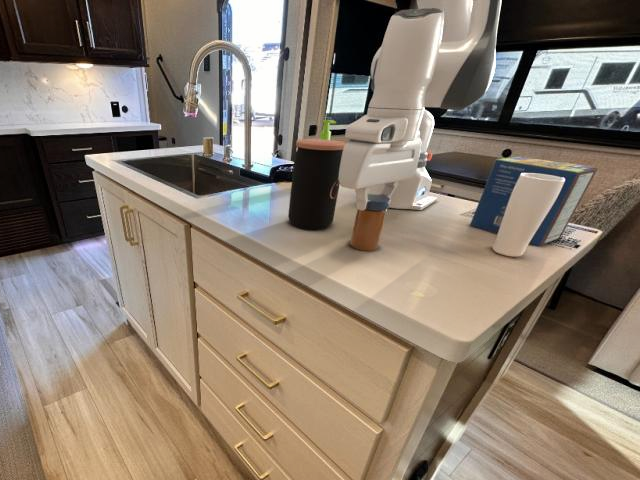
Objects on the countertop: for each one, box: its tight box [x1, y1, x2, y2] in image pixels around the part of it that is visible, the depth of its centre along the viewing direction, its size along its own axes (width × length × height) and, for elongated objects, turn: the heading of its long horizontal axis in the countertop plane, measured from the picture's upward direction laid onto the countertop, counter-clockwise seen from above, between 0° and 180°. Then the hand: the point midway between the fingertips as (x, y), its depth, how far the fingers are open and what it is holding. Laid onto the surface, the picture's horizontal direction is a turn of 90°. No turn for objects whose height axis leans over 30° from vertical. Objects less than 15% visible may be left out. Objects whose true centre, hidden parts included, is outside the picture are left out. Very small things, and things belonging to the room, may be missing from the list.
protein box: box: [469, 156, 599, 247], centre depth 76 cm, size 10×15×16 cm
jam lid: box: [367, 194, 390, 211], centre depth 66 cm, size 6×6×2 cm
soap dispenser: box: [318, 119, 337, 140], centre depth 113 cm, size 6×7×20 cm
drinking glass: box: [491, 173, 565, 258], centre depth 65 cm, size 7×7×15 cm
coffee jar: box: [287, 138, 347, 231], centre depth 77 cm, size 11×11×18 cm
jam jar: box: [349, 208, 388, 252], centre depth 68 cm, size 5×5×9 cm
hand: (372, 206), depth 66 cm, fingers closed on jam lid, 5 cm apart
